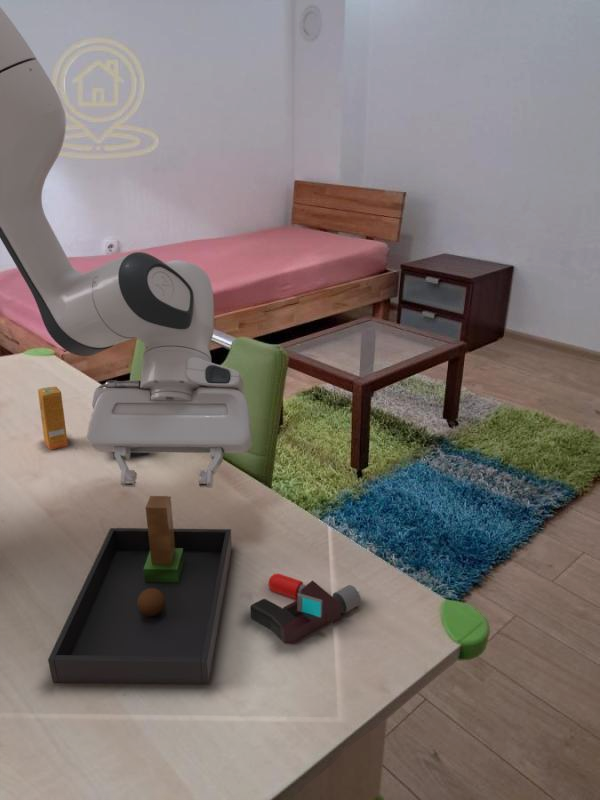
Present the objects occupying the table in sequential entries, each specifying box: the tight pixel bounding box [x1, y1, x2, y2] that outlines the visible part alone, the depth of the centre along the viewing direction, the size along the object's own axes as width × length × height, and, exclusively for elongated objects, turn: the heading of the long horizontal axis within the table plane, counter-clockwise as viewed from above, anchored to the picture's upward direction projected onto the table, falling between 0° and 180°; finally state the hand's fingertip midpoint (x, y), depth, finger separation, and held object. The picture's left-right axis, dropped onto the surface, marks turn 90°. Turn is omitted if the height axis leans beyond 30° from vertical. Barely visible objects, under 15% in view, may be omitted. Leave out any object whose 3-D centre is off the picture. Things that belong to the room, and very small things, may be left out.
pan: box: [47, 527, 233, 686], centre depth 71 cm, size 15×21×4 cm
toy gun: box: [249, 573, 361, 645], centre depth 71 cm, size 10×12×5 cm
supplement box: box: [37, 386, 69, 451], centre depth 105 cm, size 3×3×10 cm
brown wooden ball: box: [137, 588, 165, 617], centre depth 70 cm, size 3×3×3 cm
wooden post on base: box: [143, 495, 184, 583], centre depth 75 cm, size 4×4×10 cm
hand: (166, 486), depth 77 cm, fingers open, 8 cm apart
